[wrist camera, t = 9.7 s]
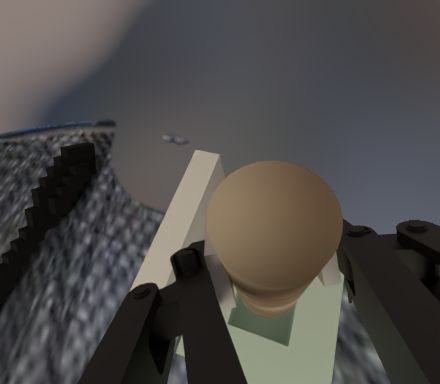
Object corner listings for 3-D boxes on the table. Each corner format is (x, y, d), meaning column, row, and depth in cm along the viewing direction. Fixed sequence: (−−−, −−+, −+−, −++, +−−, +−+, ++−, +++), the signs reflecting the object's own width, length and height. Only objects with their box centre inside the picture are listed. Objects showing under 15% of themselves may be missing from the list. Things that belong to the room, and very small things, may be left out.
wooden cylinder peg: (231, 306, 18) (187, 258, 8) (247, 251, 20) (229, 151, 9) (290, 327, 17) (332, 305, 6) (302, 266, 19) (350, 173, 8)
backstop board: (128, 396, 28) (69, 421, 20) (210, 191, 39) (195, 149, 31) (152, 409, 27) (101, 440, 19) (229, 196, 38) (219, 154, 30)
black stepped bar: (-44, 397, 31) (-126, 413, 24) (-64, 382, 32) (-148, 394, 25) (113, 161, 45) (88, 131, 39) (96, 156, 46) (69, 126, 40)
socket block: (188, 351, 30) (175, 353, 25) (226, 237, 36) (221, 223, 31) (316, 405, 26) (327, 418, 22) (335, 267, 32) (346, 256, 28)
